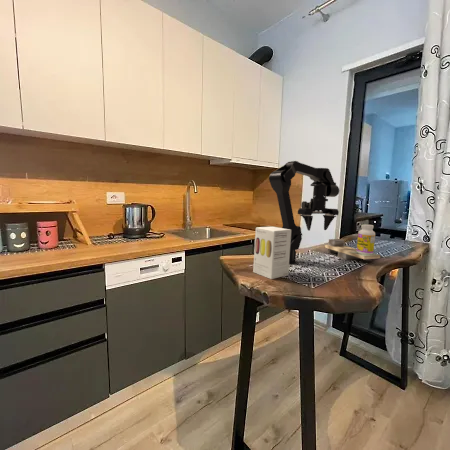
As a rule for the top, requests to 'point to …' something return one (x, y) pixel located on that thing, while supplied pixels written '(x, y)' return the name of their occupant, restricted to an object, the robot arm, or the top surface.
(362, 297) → the top surface
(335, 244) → the balance beam
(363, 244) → the supplement bottle
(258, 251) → the supplement box
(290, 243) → the robot arm
